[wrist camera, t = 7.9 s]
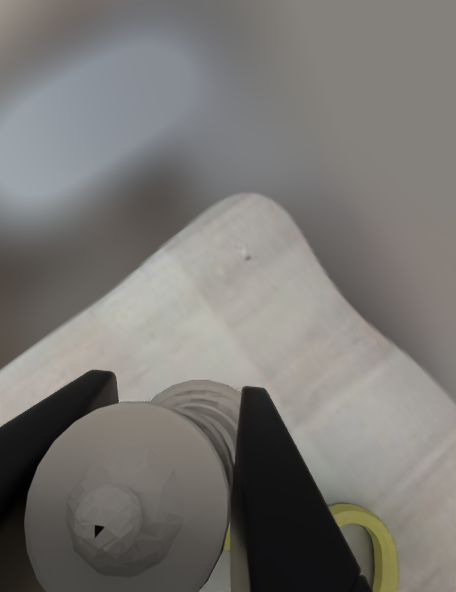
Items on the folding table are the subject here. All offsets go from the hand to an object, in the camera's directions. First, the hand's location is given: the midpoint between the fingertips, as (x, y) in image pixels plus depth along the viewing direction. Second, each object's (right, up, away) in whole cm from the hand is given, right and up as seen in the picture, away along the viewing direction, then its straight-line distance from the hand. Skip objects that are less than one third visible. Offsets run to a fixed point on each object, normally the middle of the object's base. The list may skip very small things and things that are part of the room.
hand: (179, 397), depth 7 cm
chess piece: (0, -3, +6) cm, 7 cm away
